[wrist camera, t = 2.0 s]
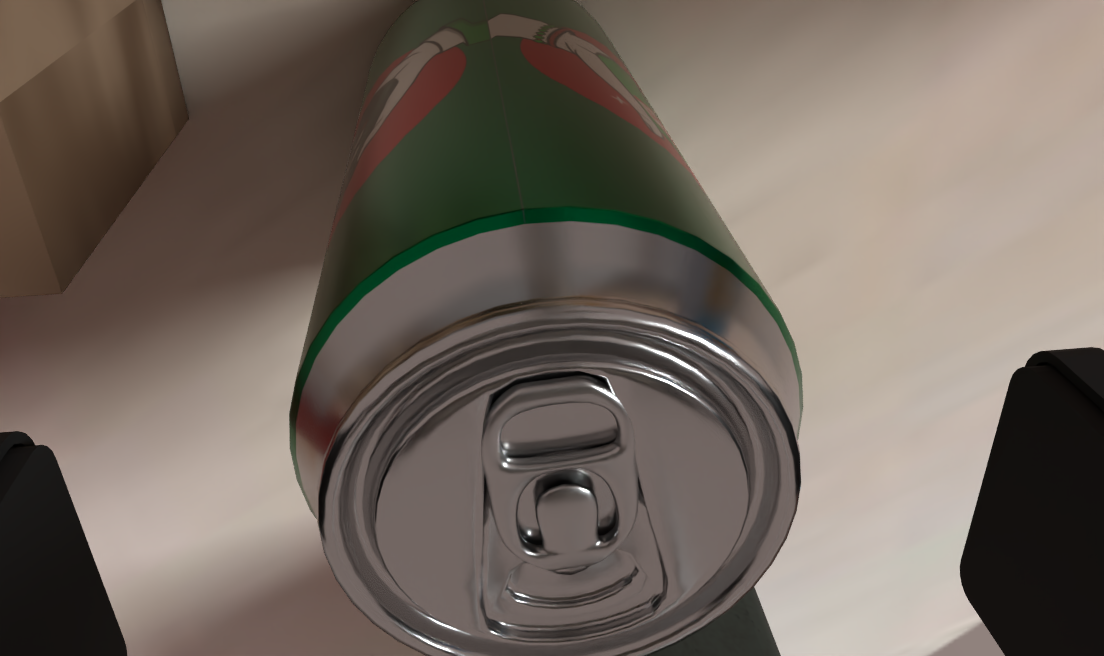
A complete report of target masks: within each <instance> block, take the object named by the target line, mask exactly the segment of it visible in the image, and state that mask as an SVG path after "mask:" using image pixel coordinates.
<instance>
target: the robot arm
mask: <svg viewBox="0 0 1104 656" xmlns="http://www.w3.org/2000/svg"><path fill="white" fill-rule="evenodd" d="M960 577H961V582H962V586H963V589H964V592H965V594H966V596H967V598H968V600H969V602H970V603H971V605H972V606H973V608H974V609H975V611H976V612H977V614H978V615H979V617H980V618H981V620H982V621H983V623H984V624H985V626H986V627H987V629H988V630H989V632H990V633H991V635H992V636H993V638H994V639H995V641H996V642H997V644H998V645H999V647H1000V648H1001V650H1002V651H1003V653H1004V655H1005V656H1104V350H1102V349H1100V348H1093V347H1089V348H1076V349H1063V350H1051V351H1040V352H1038V353H1035V354H1033V355H1032V356H1031V358H1030V359H1029V360H1028V361H1027V363H1026V365H1025V367H1022V368H1019V369H1017V370H1016V371H1015V373H1014V374H1013V375H1012V378H1011V380H1010V383H1009V387H1008V391H1007V394H1006V398H1005V401H1004V405H1003V409H1002V412H1001V416H1000V420H999V423H998V427H997V431H996V434H995V438H994V442H993V445H992V449H991V453H990V456H989V460H988V463H987V467H986V471H985V474H984V478H983V482H982V485H981V489H980V493H979V496H978V500H977V504H976V507H975V511H974V515H973V518H972V522H971V525H970V529H969V533H968V536H967V540H966V544H965V547H964V551H963V555H962V558H961V563H960ZM0 656H127V648H126V644H125V641H124V638H123V635H122V633H121V630H120V627H119V625H118V622H117V619H116V617H115V614H114V611H113V609H112V606H111V603H110V601H109V598H108V595H107V593H106V590H105V587H104V585H103V582H102V579H101V577H100V574H99V571H98V569H97V566H96V563H95V561H94V558H93V555H92V553H91V550H90V548H89V545H88V542H87V540H86V537H85V534H84V532H83V529H82V526H81V524H80V521H79V518H78V516H77V513H76V510H75V508H74V505H73V502H72V500H71V497H70V494H69V492H68V489H67V486H66V484H65V481H64V478H63V476H62V473H61V470H60V468H59V465H58V462H57V460H56V457H55V455H54V453H53V451H52V450H51V449H50V448H49V447H48V446H44V445H36V446H35V444H34V442H33V440H32V439H31V438H30V437H29V436H28V435H27V434H26V433H23V432H19V431H15V432H2V433H0Z"/></svg>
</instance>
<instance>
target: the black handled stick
mask: <svg viewBox="0 0 1104 656" xmlns="http://www.w3.org/2000/svg"><path fill="white" fill-rule="evenodd" d="M650 656H781V655H780V653H779V650H778V648H777V645H776V642H775V640H774V637H773V635H772V632H771V629H770V627H769V624H768V622H767V619H766V616H765V614H764V611H763V609H762V606H761V603H760V601H759V598H758V595H757V593H756V590H755V588H754V587H753V588H752V589H751V590H750V591H749V592H748V593H747V594H746V595H745V596H744V597H743V598H742V599H741V600H740V601H739V602H738V603H737V604H735V605H734V606H733V607H732V608H731V609H730V610H729V611H727V612H726V613H724V614H723V615H722V616H720V617H719V618H718V619H716V620H715V621H714V622H712V623H711V624H710V625H708V626H707V627H705V628H704V629H702V630H700V631H698V632H697V633H695V634H693V635H691V636H690V637H688V638H686V639H684V640H683V641H681V642H679V643H677V644H675V645H673V646H670V647H668V648H666V649H663V650H661V651H659V652H657V653H654V654H652V655H650Z"/></svg>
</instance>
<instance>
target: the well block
mask: <svg viewBox="0 0 1104 656" xmlns="http://www.w3.org/2000/svg"><path fill="white" fill-rule="evenodd" d="M188 119H189V116H188V112H187V108H186V104H185V99H184V95H183V91H182V87H181V83H180V78H179V74H178V70H177V66H176V62H175V57H174V53H173V49H172V45H171V40H170V36H169V32H168V28H167V24H166V19H165V15H164V11H163V7H162V3H161V0H0V298H4V297H19V296H34V295H49V294H62V293H63V292H64V290H65V289H66V288H67V286H68V285H69V283H70V282H71V281H72V279H73V278H74V277H75V275H76V274H77V272H78V271H79V270H80V268H81V267H82V266H83V264H84V263H85V261H86V260H87V259H88V257H89V256H90V255H91V253H92V252H93V250H94V249H95V248H96V246H97V245H98V243H99V242H100V241H101V239H102V238H103V237H104V235H105V234H106V232H107V231H108V230H109V228H110V227H111V226H112V224H113V223H114V221H115V220H116V219H117V217H118V216H119V215H120V213H121V212H122V210H123V209H124V208H125V206H126V205H127V203H128V202H129V201H130V199H131V198H132V197H133V195H134V194H135V192H136V191H137V190H138V188H139V187H140V186H141V184H142V183H143V181H144V180H145V179H146V177H147V176H148V175H149V173H150V172H151V170H152V169H153V168H154V166H155V165H156V163H157V162H158V161H159V159H160V158H161V157H162V155H163V154H164V152H165V151H166V150H167V148H168V147H169V146H170V144H171V143H172V141H173V140H174V139H175V137H176V136H177V135H178V133H179V132H180V130H181V129H182V128H183V126H184V125H185V123H186V122H187V121H188Z"/></svg>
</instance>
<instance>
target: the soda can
mask: <svg viewBox="0 0 1104 656" xmlns="http://www.w3.org/2000/svg"><path fill="white" fill-rule="evenodd" d="M802 411H803V390H802V373H801V369H800V365H799V360H798V356H797V352H796V348H795V344H794V341H793V339H792V337H791V335H790V332H789V330H788V328H787V326H786V324H785V322H784V320H783V318H782V315H781V313H780V311H779V310H778V308H777V306H776V305H775V303H774V302H773V300H772V298H771V297H770V295H769V294H768V292H767V290H766V289H765V287H764V286H763V284H762V282H761V281H760V279H759V278H758V276H757V274H756V273H755V271H754V270H753V268H752V266H751V265H750V263H749V262H748V260H747V258H746V257H745V255H744V254H743V252H742V250H741V249H740V247H739V246H738V244H737V242H736V241H735V239H734V238H733V236H732V234H731V233H730V231H729V230H728V228H727V226H726V225H725V223H724V222H723V220H722V218H721V217H720V215H719V214H718V212H717V210H716V209H715V207H714V206H713V204H712V202H711V201H710V199H709V198H708V196H707V195H706V193H705V191H704V190H703V188H702V187H701V185H700V183H699V182H698V180H697V179H696V177H695V175H694V174H693V172H692V171H691V169H690V167H689V166H688V164H687V163H686V161H685V159H684V158H683V156H682V155H681V153H680V151H679V150H678V148H677V147H676V145H675V143H674V142H673V140H672V139H671V137H670V135H669V134H668V132H667V131H666V129H665V127H664V126H663V124H662V123H661V121H660V119H659V118H658V116H657V115H656V113H655V111H654V110H653V108H652V107H651V105H650V103H649V102H648V100H647V99H646V97H645V95H644V94H643V92H642V91H641V89H640V87H639V86H638V84H637V83H636V81H635V80H634V78H633V76H632V75H631V73H630V72H629V70H628V68H627V67H626V65H625V64H624V62H623V60H622V59H621V57H620V56H619V54H618V52H617V51H616V49H615V48H614V46H613V44H612V43H611V41H610V40H609V38H608V37H607V35H606V34H605V32H604V31H603V30H602V28H601V27H600V25H599V24H598V23H597V21H596V20H595V19H594V18H593V17H592V16H591V15H590V14H589V13H588V12H587V11H586V10H585V9H584V8H583V7H582V6H581V5H579V4H578V3H577V2H575V1H574V0H418V1H416V2H415V3H414V4H413V5H412V6H411V7H409V8H408V9H407V10H406V11H405V12H404V13H402V14H401V16H400V17H399V18H398V19H397V20H396V22H395V23H394V24H393V25H392V26H391V28H390V29H389V30H388V32H387V33H386V35H385V37H384V39H383V40H382V42H381V44H380V45H379V47H378V49H377V52H376V54H375V57H374V60H373V62H372V65H371V68H370V71H369V76H368V80H367V84H366V88H365V92H364V96H363V101H362V105H361V109H360V113H359V117H358V122H357V126H356V130H355V134H354V138H353V142H352V147H351V151H350V155H349V159H348V163H347V168H346V172H345V176H344V180H343V184H342V188H341V193H340V197H339V201H338V205H337V209H336V214H335V218H334V222H333V226H332V230H331V234H330V239H329V243H328V247H327V251H326V255H325V260H324V264H323V268H322V272H321V276H320V280H319V285H318V289H317V293H316V297H315V301H314V306H313V310H312V314H311V318H310V322H309V326H308V331H307V335H306V339H305V343H304V347H303V352H302V356H301V360H300V364H299V368H298V372H297V377H296V381H295V386H294V392H293V397H292V402H291V407H290V413H289V426H290V451H291V455H292V460H293V465H294V469H295V474H296V478H297V481H298V483H299V486H300V488H301V490H302V493H303V495H304V497H305V499H306V502H307V504H308V506H309V508H310V510H311V512H312V513H313V515H314V516H315V518H316V519H317V522H318V527H319V531H320V536H321V541H322V546H323V550H324V553H325V556H326V558H327V560H328V563H329V565H330V567H331V569H332V572H333V574H334V576H335V578H336V580H337V582H338V583H339V584H340V586H341V587H342V589H343V590H344V592H345V593H346V594H347V596H348V597H349V599H350V600H351V602H352V603H353V604H354V605H355V606H356V607H357V608H358V609H359V610H360V611H361V612H362V613H363V614H364V615H365V616H366V617H367V618H368V619H369V620H370V621H371V622H372V623H373V624H375V625H376V626H377V627H379V628H380V629H382V630H383V631H384V632H386V633H387V634H389V635H390V636H391V637H393V638H394V639H396V640H397V641H399V642H401V643H403V644H405V645H406V646H408V647H410V648H412V649H414V650H416V651H418V652H420V653H422V654H424V655H426V656H650V655H652V654H654V653H657V652H659V651H661V650H663V649H666V648H668V647H670V646H673V645H675V644H677V643H679V642H681V641H683V640H684V639H686V638H688V637H690V636H691V635H693V634H695V633H697V632H698V631H700V630H702V629H704V628H705V627H707V626H708V625H710V624H711V623H712V622H714V621H715V620H716V619H718V618H719V617H720V616H722V615H723V614H724V613H726V612H727V611H729V610H730V609H731V608H732V607H733V606H734V605H735V604H737V603H738V602H739V601H740V600H741V599H742V598H743V597H744V596H745V595H746V594H747V593H748V592H749V591H750V590H751V589H752V588H753V587H754V586H755V585H756V584H757V582H758V581H759V580H760V578H761V577H762V576H763V575H764V573H765V572H766V571H767V570H768V568H769V567H770V566H771V565H772V563H773V561H774V560H775V558H776V556H777V554H778V553H779V551H780V549H781V547H782V546H783V544H784V542H785V540H786V539H787V536H788V533H789V530H790V528H791V525H792V522H793V519H794V517H795V514H796V511H797V505H798V498H799V492H800V486H801V473H800V452H799V445H798V437H799V430H800V424H801V417H802Z"/></svg>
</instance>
